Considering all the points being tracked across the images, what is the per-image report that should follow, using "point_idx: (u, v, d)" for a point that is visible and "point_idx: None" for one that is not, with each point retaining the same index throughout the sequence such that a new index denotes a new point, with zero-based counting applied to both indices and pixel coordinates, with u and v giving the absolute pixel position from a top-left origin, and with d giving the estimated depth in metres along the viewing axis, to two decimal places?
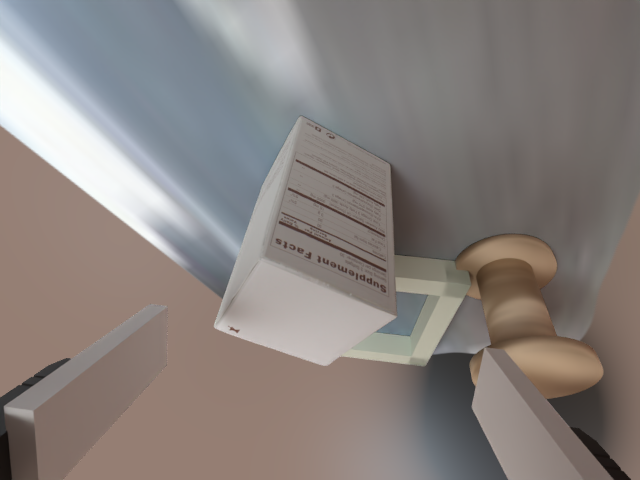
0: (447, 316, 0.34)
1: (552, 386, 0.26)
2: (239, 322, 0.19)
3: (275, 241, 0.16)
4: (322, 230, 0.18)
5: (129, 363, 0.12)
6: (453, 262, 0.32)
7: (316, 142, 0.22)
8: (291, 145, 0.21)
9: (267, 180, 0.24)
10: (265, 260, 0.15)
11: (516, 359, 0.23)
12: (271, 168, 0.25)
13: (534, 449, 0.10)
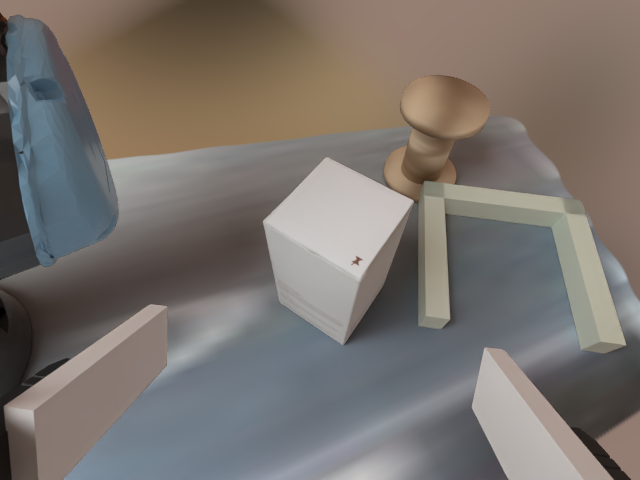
0: (474, 190, 0.37)
1: (456, 91, 0.34)
2: (343, 252, 0.21)
3: None
4: None
5: (129, 363, 0.12)
6: (418, 202, 0.39)
7: None
8: (276, 285, 0.30)
9: (315, 317, 0.30)
10: (265, 219, 0.23)
11: (420, 113, 0.32)
12: (314, 323, 0.31)
13: (534, 449, 0.10)
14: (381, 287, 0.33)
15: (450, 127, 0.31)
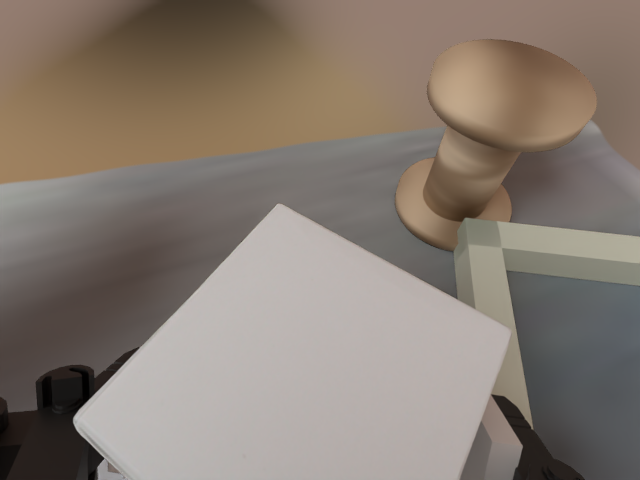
0: (549, 233, 0.22)
1: (526, 64, 0.19)
2: None
3: None
4: None
5: None
6: (454, 251, 0.24)
7: None
8: None
9: None
10: (82, 410, 0.08)
11: (469, 104, 0.17)
12: None
13: None
14: None
15: (531, 128, 0.16)
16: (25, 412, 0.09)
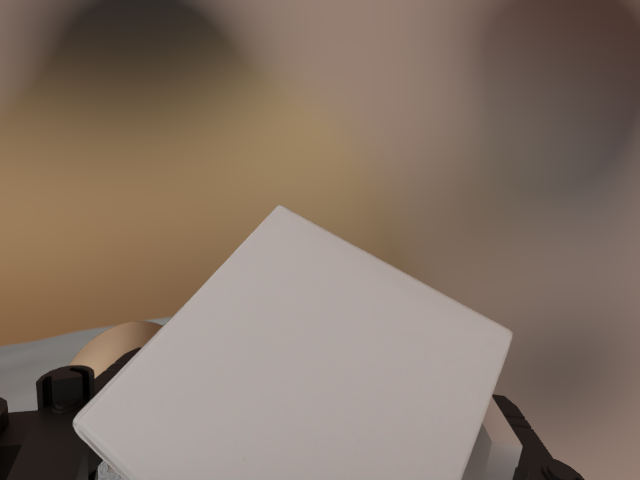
0: None
1: None
2: None
3: None
4: None
5: None
6: None
7: None
8: None
9: None
10: (81, 413, 0.08)
11: None
12: None
13: None
14: None
15: None
16: (25, 412, 0.09)
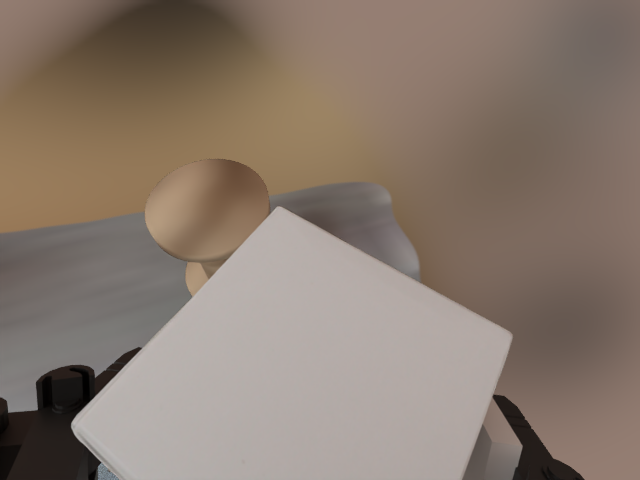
0: None
1: (229, 184, 0.25)
2: None
3: None
4: None
5: None
6: None
7: None
8: None
9: None
10: (80, 415, 0.08)
11: (161, 224, 0.23)
12: None
13: None
14: None
15: (195, 248, 0.22)
16: (25, 412, 0.09)
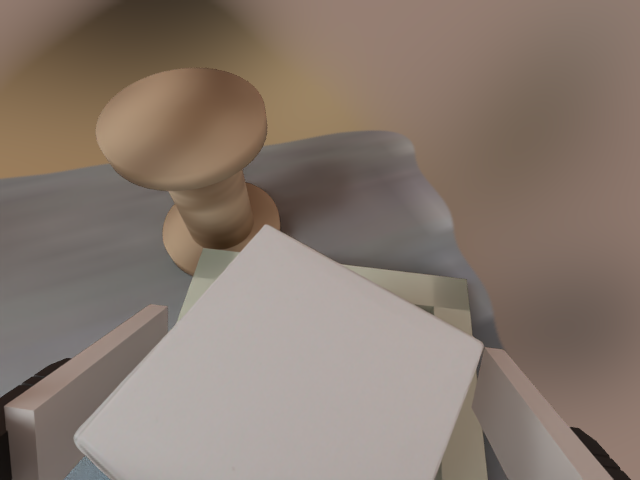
0: None
1: (213, 95, 0.18)
2: None
3: None
4: None
5: (129, 363, 0.13)
6: None
7: None
8: None
9: None
10: (82, 428, 0.08)
11: (117, 140, 0.17)
12: None
13: (534, 449, 0.10)
14: None
15: (162, 168, 0.16)
16: None
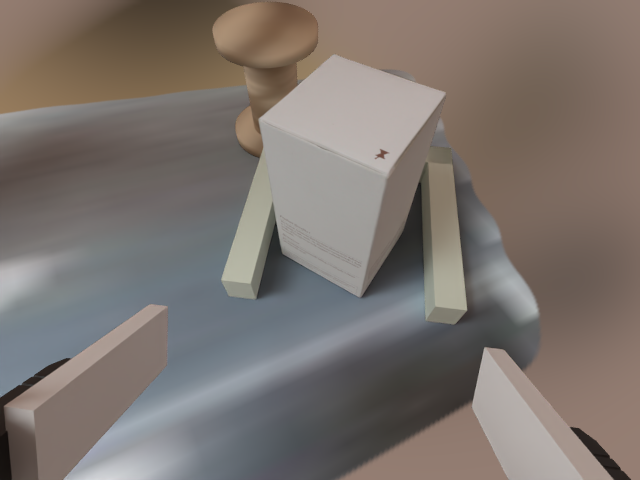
0: None
1: (283, 16, 0.28)
2: (363, 146, 0.17)
3: None
4: None
5: (129, 363, 0.12)
6: None
7: None
8: (277, 226, 0.25)
9: (325, 263, 0.25)
10: (262, 116, 0.18)
11: (227, 38, 0.27)
12: (325, 272, 0.26)
13: (534, 449, 0.10)
14: (401, 232, 0.28)
15: (259, 51, 0.26)
16: None
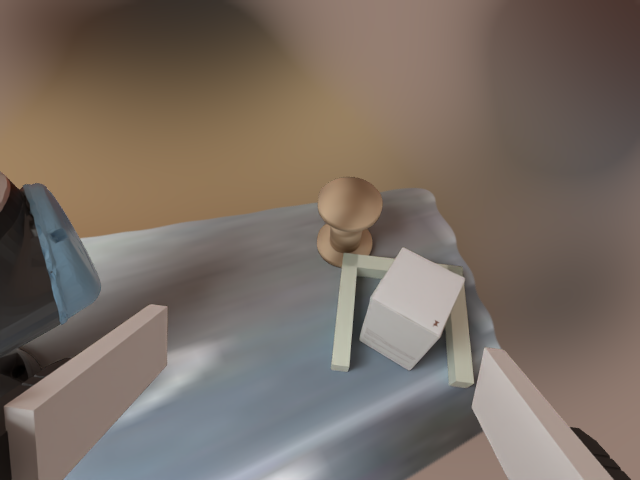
0: (380, 260, 0.49)
1: (359, 191, 0.46)
2: (426, 318, 0.34)
3: None
4: None
5: (129, 363, 0.12)
6: None
7: None
8: (362, 330, 0.42)
9: (391, 352, 0.42)
10: (372, 296, 0.35)
11: (329, 212, 0.44)
12: (389, 356, 0.43)
13: (534, 449, 0.10)
14: None
15: (350, 224, 0.43)
16: None
